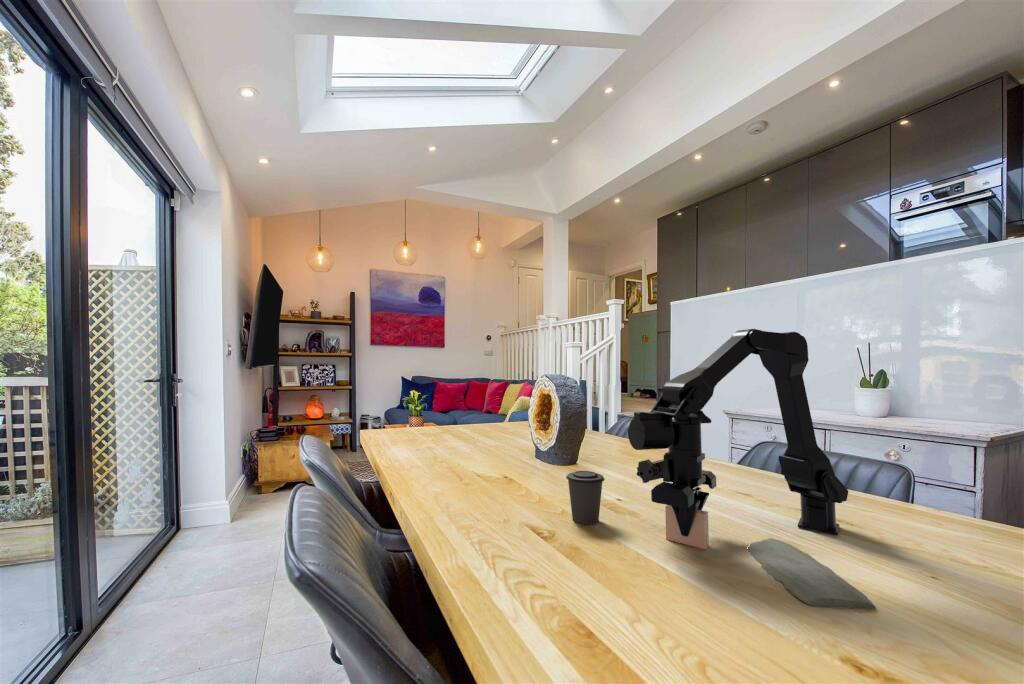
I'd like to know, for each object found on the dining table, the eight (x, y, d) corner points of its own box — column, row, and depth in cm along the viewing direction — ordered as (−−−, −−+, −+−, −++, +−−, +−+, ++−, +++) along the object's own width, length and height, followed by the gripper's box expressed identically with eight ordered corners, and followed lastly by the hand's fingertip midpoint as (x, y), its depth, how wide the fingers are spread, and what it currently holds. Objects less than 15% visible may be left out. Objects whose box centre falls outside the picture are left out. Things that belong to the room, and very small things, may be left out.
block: (669, 536, 81) (669, 504, 82) (708, 545, 77) (707, 511, 77) (666, 539, 80) (665, 506, 80) (705, 549, 75) (704, 514, 76)
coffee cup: (608, 528, 85) (608, 477, 86) (568, 527, 86) (568, 476, 86) (601, 514, 93) (600, 468, 94) (564, 514, 94) (563, 467, 94)
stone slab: (808, 620, 57) (885, 613, 56) (804, 598, 57) (881, 591, 56) (732, 551, 79) (787, 546, 78) (730, 536, 79) (785, 530, 79)
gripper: (660, 437, 92) (661, 511, 91) (622, 449, 77) (623, 538, 76) (715, 443, 85) (718, 523, 84) (685, 457, 70) (688, 555, 69)
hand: (686, 533), depth 78 cm, fingers closed on block, 2 cm apart
